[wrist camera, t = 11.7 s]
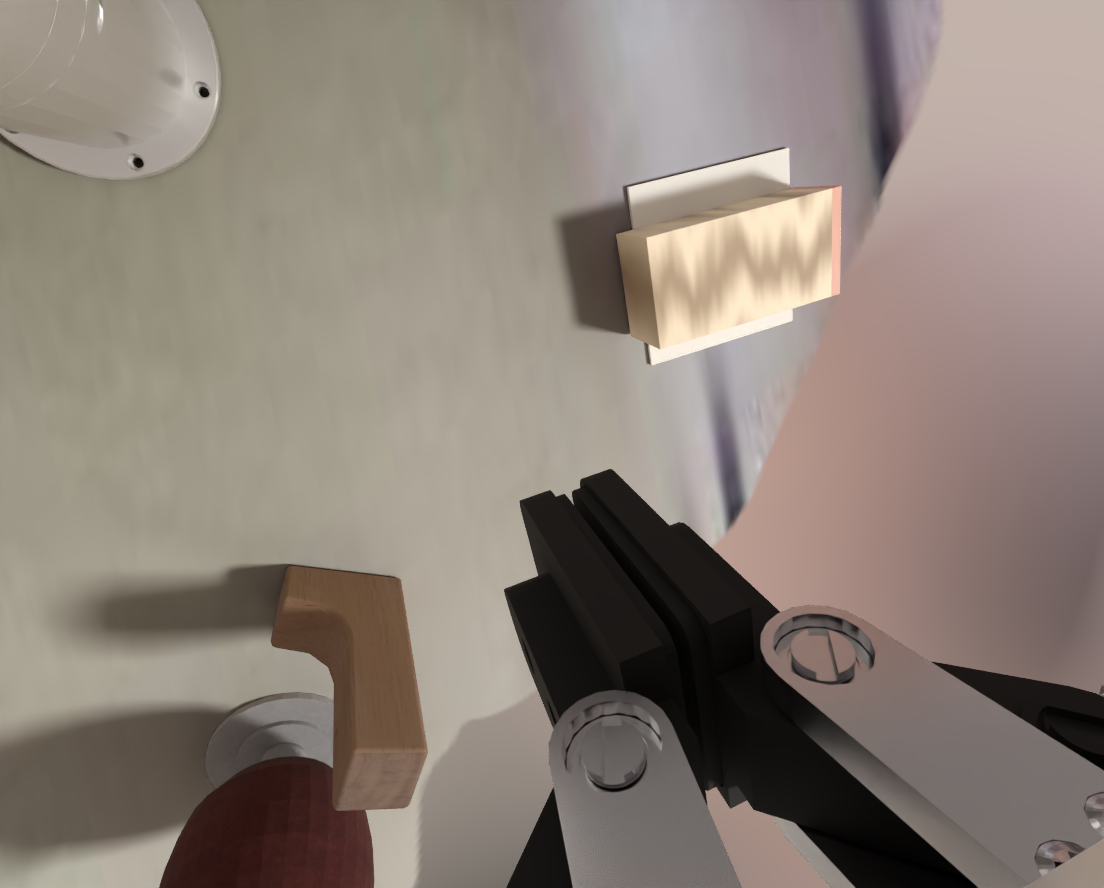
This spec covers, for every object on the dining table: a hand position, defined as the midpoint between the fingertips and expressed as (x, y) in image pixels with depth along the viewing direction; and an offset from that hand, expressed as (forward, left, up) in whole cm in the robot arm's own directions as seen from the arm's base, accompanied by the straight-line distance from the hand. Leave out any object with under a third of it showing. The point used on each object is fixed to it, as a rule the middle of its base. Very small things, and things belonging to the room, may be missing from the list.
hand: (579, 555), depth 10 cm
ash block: (+4, +17, -32) cm, 36 cm away
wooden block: (+22, -12, -35) cm, 43 cm away
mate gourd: (+36, -22, -35) cm, 55 cm away
